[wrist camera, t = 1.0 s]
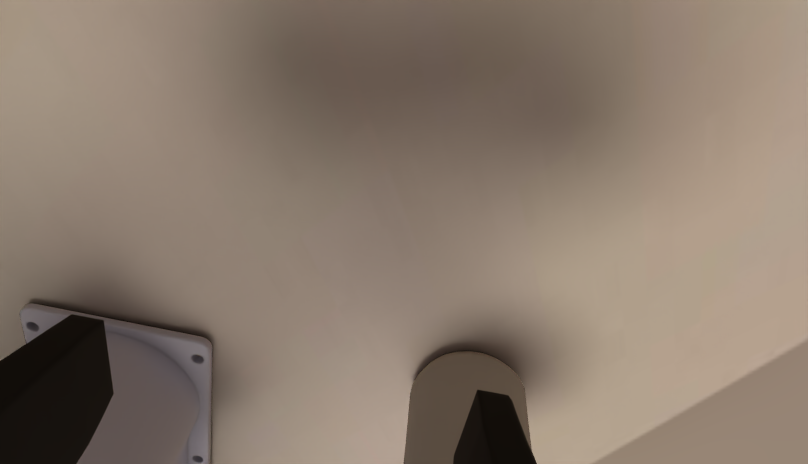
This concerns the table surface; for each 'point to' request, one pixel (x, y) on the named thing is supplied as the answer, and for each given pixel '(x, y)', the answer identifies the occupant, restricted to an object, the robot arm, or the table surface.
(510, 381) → the beverage can
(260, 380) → the table surface
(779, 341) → the table surface
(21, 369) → the robot arm
